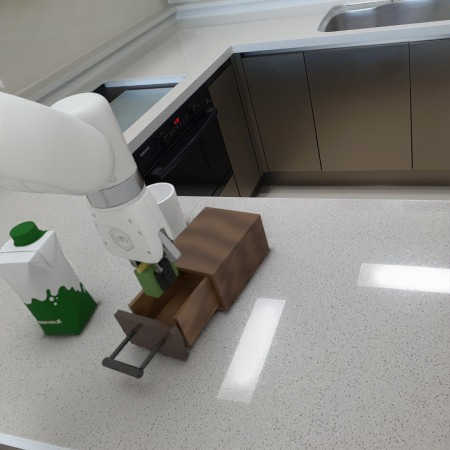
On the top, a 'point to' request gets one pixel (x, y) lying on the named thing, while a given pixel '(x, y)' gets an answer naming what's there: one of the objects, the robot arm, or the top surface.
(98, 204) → the robot arm
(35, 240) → the milk carton
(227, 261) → the cabinet
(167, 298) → the drawer
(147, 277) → the green sponge
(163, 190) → the mug
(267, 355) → the top surface
